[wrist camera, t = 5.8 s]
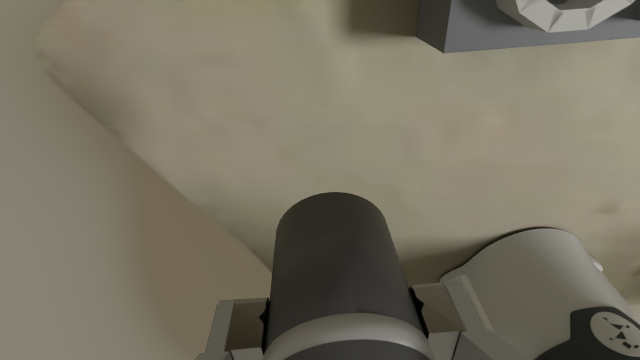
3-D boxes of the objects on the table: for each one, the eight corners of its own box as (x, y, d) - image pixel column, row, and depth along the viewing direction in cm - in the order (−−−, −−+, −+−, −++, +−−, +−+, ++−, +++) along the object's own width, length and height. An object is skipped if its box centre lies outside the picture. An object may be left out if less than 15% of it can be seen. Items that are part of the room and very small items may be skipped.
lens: (386, 271, 14) (450, 497, 8) (282, 280, 14) (268, 513, 8) (392, 186, 12) (490, 419, 6) (266, 196, 12) (227, 442, 6)
